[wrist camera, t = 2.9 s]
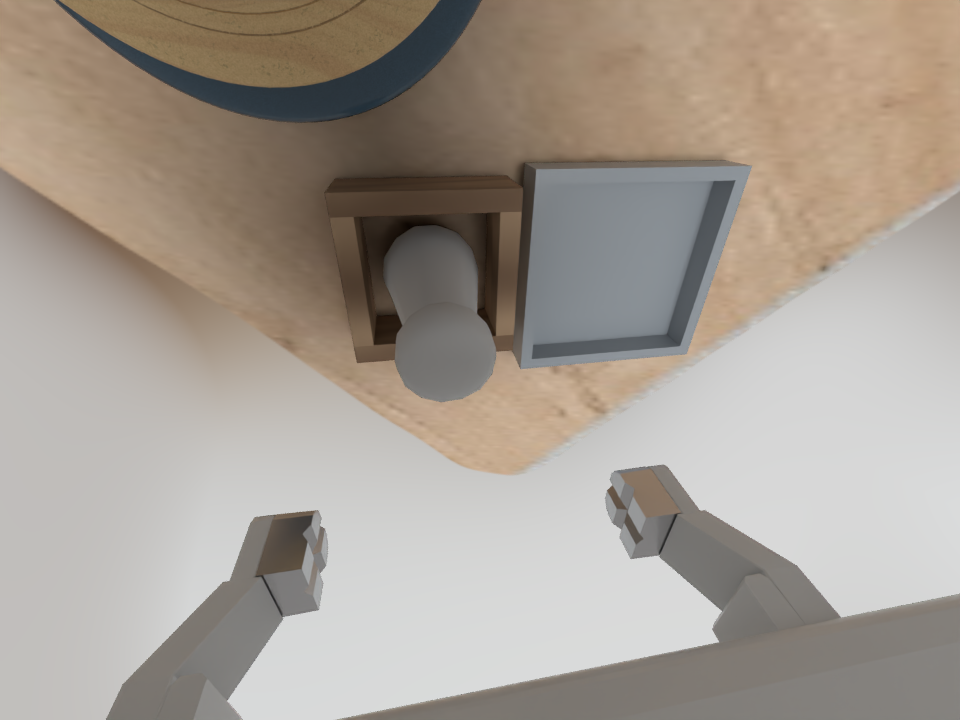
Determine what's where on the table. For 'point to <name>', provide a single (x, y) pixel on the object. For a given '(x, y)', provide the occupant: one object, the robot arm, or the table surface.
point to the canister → (281, 49)
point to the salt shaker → (438, 314)
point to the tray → (618, 257)
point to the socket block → (424, 198)
